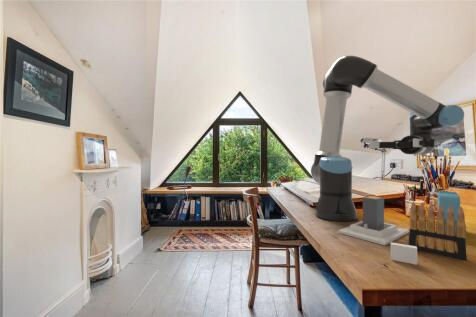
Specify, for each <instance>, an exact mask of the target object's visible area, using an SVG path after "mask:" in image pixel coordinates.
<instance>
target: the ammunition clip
mask: <svg viewBox="0 0 476 317" xmlns="http://www.w3.org/2000/svg"><path fill="white" fill-rule="evenodd" d="M427 209H428V210H427V218H426V209H425V204H424V203H423V202H421V203H420V205H419V208H418V217H417V206H416V203H415V202H414V201H412V203H411V205H410V214H409V222H408V223H409V224H408V226H409V229H408V230H409V233H408V245H410V246H416V247H417V250H418V251H417V252H422V251H423V252H422V253H426V252H427V254H432V255H436V256H441V257H445V258H450V259H455V260H460V261H465V262H467V260H468V258H467V226H466V219H465V211H464V208H463V207H462V206H460V208H459V210H458V216H457V224H456V235H455V222H454V212H453V208H452V206H449V208H448V212H447V221H446V233H445V222H444V212H443V208H442V205H439V207H438V206H437V211H436V220H435V209H434V206H433V204H432V203H430V204H429V206H428V208H427Z"/></svg>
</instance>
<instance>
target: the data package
mask: <svg viewBox="0 0 476 317" xmlns="http://www.w3.org/2000/svg"><path fill="white" fill-rule="evenodd" d="M439 205H442V208H443V212H444V222H445V233H446V221H447V212H448V208H449V206H452V208H453V212H454V222H455V235H456V224H457V216H458V210H459V208H460V207H461V197H460V195H459V194H458V193H457V192H455V191H443V190H438V191H437V208H438V207H439Z"/></svg>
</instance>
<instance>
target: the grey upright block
mask: <svg viewBox="0 0 476 317" xmlns="http://www.w3.org/2000/svg"><path fill="white" fill-rule="evenodd" d="M362 221H363V227H364V224H367V228H369V229H373V230H377V231H381V230H383V229H384V223H385V198H384V197H381V196H373V195H370V196H364V197H362Z"/></svg>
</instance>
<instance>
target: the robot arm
mask: <svg viewBox="0 0 476 317" xmlns="http://www.w3.org/2000/svg"><path fill="white" fill-rule="evenodd" d="M353 86H355V87H357V88H358V89H363V88H364V89H367V90H368V91H370V92H372V93H373V94H376V95H378V96H379V97H381V98H383V99H385V100H387V101H389V102H391V103H393V104H394V105H396V106H398V107H399V108H401V109H403V110H405V111H408V112H409V113H410V114H409V135H406V136H404V137H402V138H401V139H398V140H392V141H380V140H379V141H378V140H370V141H369V149H373V150H375V151H378V149H392V150H399V151H401V153H403V154H405V155H413V156H415V157H416V156H417V155H427V154H429V153H431V152H433V150H434V149H435V147H436V145H435V138H433V130H436V129H437V130H438V129H443V128H444V129H445V128H451V127H454V126H458V125H459V124H461V122H462V121H463V120H464V118H465V112H464V109H463V108H462V107H461V106H459V105H457V104H448V105H445V104H444V103H441V102H440V101H438V100H435V98H432V97H430V96H428V95H426V94H424V92H421V91H419V90H417V89H415V88H414V87H411V86H409V85H408V84H406V83H404V82H402V81H401V80H398V78H397V79H396V78H395V77H393V76H391V75H389V74H387V73H386V72H383V71H382V70H380V69H379V68H378V64H376V63H374V62H372V61H370V60H367V59H365V58H363V57H361V56H355V55H345V56H342V57H339V58H338V59H337V60H335V62H334V63H333V64H332V66H331V67H330V68H329V70H328V71H327V72H326V73H325V75H324V77H323V81H322V87H323V94H322V95H323V97H324V98H325V99H326V100H325V105H324V106H325V107H324V114H323V120H322V126H321V127H322V128H321V136H320V142H319V147H318V148H319V149H318V151H317V152H316V153H315V154H314V158H313V164H312V165H311V167H310V168H311V169H310V173H311V177H312V179H313V180H314V181H315V182H316V183H317V184H319V197H318V201H317V203H316V205H315V209H314V211H315V212H314V213H315V214H314V215H315V216H316V217H318V218H320V219H323V220H326V221H333V222H334V221H335V222H336V221H337V222H352V221H356V220H357V219H358V212H357V209H356V206H355V204H354V200H353V193H352V192H353V189H352V188H353V165H352V160H351V158H348V157H346V156H345V157H344V156H342V154H341V152H340V150H341V144H342V137H343V136H342V135H343V129H344V123H345V122H344V121H345V117H346V107H347V100H348V99H349V98H351V96H352V91H353Z"/></svg>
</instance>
